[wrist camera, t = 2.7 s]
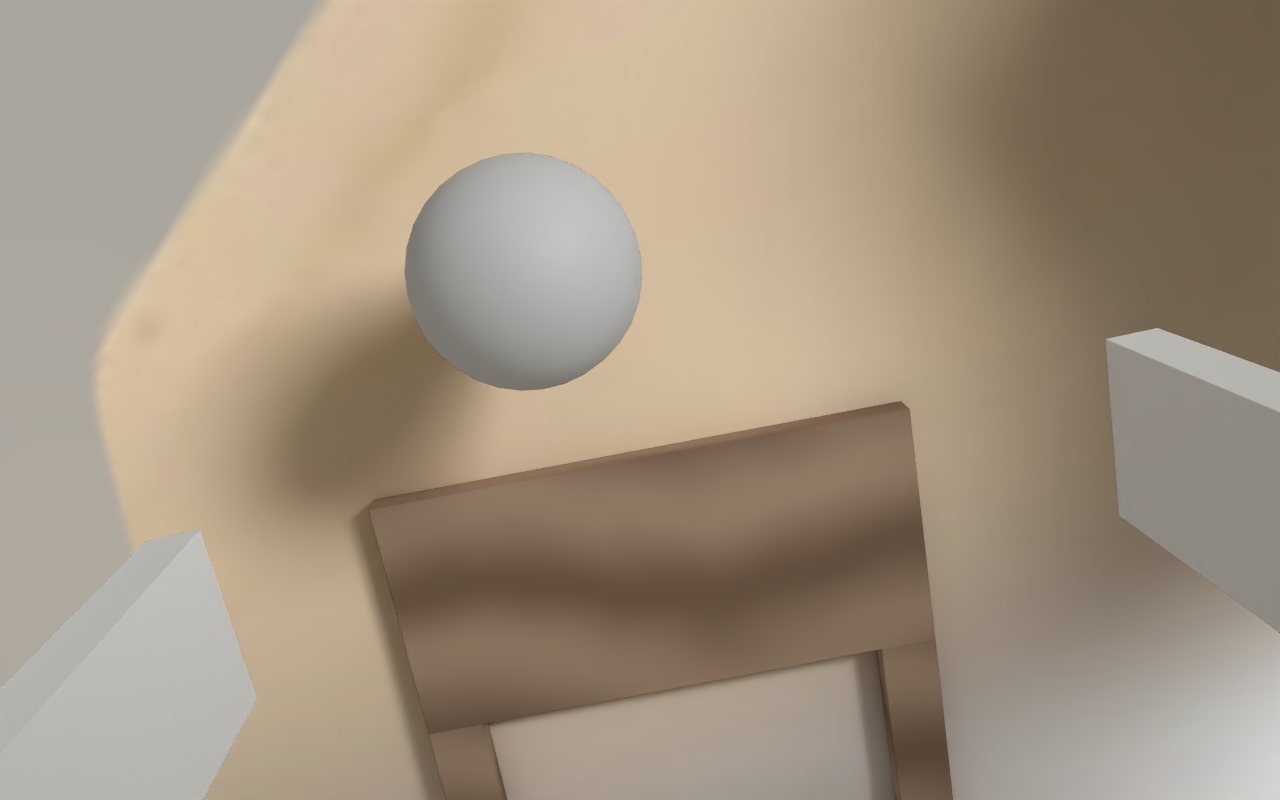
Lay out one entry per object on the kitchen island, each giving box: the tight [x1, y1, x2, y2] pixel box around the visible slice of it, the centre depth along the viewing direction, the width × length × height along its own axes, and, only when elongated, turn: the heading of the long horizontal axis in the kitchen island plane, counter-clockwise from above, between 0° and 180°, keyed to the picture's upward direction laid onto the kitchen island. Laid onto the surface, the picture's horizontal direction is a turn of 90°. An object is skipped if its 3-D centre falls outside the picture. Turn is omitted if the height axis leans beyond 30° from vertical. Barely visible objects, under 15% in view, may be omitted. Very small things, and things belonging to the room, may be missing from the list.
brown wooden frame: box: [369, 401, 953, 800], centre depth 39 cm, size 20×19×1 cm
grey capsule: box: [405, 153, 642, 390], centre depth 30 cm, size 6×6×11 cm
